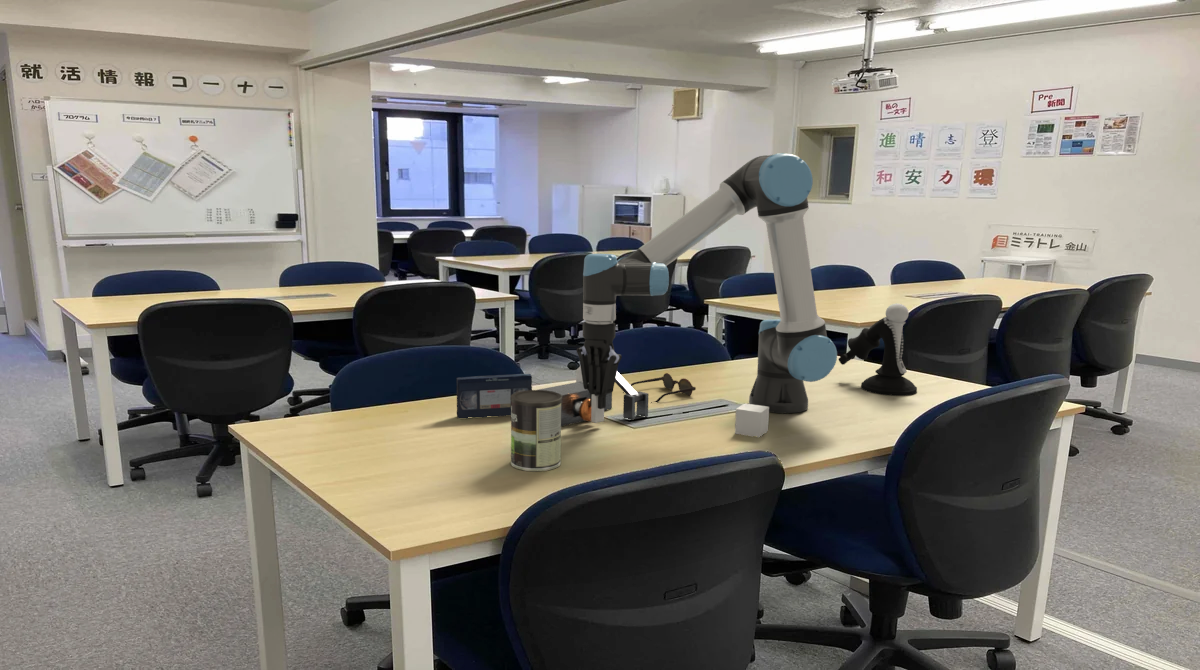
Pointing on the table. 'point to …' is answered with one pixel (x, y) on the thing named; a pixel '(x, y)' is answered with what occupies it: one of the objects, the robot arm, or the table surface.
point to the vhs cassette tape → (489, 394)
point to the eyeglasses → (672, 385)
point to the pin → (583, 409)
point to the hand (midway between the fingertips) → (597, 420)
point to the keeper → (628, 388)
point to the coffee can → (536, 430)
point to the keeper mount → (630, 405)
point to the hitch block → (570, 400)
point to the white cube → (751, 420)
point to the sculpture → (892, 366)
